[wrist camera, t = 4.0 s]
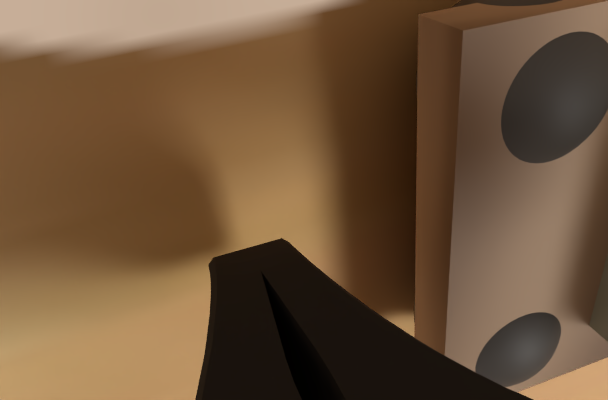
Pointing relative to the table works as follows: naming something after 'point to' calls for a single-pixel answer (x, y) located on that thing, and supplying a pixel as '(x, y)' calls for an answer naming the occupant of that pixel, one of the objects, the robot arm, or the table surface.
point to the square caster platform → (513, 187)
